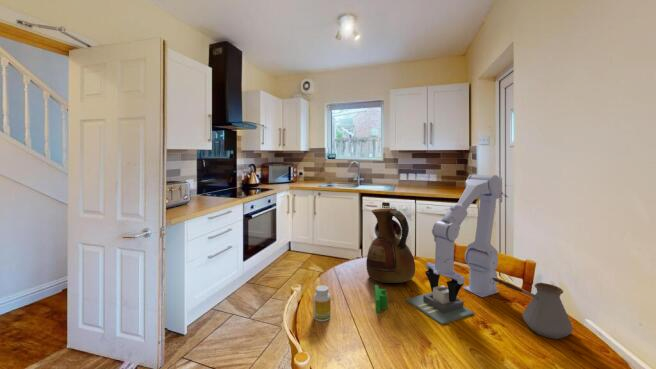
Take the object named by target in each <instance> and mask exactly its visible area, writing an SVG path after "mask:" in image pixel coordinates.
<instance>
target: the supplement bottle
mask: <svg viewBox="0 0 656 369" xmlns="http://www.w3.org/2000/svg"><path fill="white" fill-rule="evenodd" d="M331 303H332V302H331V294H330V293H329V286H327V285H322V284H321V285H318V286H316V287H315V293H314V294H313V318H314V320H315V321H317V322H326V321H328V320H330V318H331V313H332V312H331V308H332V307H331Z"/></svg>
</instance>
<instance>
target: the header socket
mask: <svg viewBox="0 0 656 369" xmlns="http://www.w3.org/2000/svg"><path fill="white" fill-rule="evenodd" d="M405 301H406V302H407V303H409V304H410V305H412V306H413V307H414V308H416V309H417V310H420V312H422V313H424V314H425V315H427V316H428V317H430V318H431V319H432V320H434V321H435V322H437V323H438V324H439V325H441V326H443V325H445V324H449V323H452V322H454V321H457V320H460V319H464V318H467V317H470V316H473V315H475V311H472V310H470V309H469V308H467V307H465V306H464V301H463V300H462V299H460V298H459V296H458V295H457V297H456V301H454V302H452V303H449V304H445V305H443V304H441V303H439V302H438V301H436V300H434V299H433V292H432V291H431V292H427V293H424V294H421V295H420V294H419V295H416V296H412V297H410V298H406V299H405Z"/></svg>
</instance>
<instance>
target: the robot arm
mask: <svg viewBox="0 0 656 369" xmlns="http://www.w3.org/2000/svg"><path fill="white" fill-rule="evenodd" d="M501 189H502V181H501V178H500V177H499V176H498V175H497V174H493V175H492V174H474V173H473V174H472V173H471V174H469V175H468V177H467V178H466V180H465V189H464V190H463V192H462V194H461V196H460V197H459V200H458V201H457V203H456V204H451V205H450V206H449V208H448V210H447V212H446V213H445V214H444V215H443V216H442V218H441V219H440V220H438V221H436V222H435V223H434V224H433V226H432V228H431V234H432V236H433V240H434V242H435V251H434V254H435V255H434V256H435V257H434V258H435V259H434V263H433V262H426V263H425V269H427V270H426V271H425V273H424V274H425V276H426V277H427V280H428V281H429V285H430V290H431V292H433V288H434V287H437V286H439V280H440V277H441V276H444V277H446V278H448V279H450V280H447V281H446V287H448V290H449V302H454V301H456V297H457V296H458V295H459V294H458V293H459V292H460V290H461V289H462V288H463V290H466V291H468V292H470V293H472V294H474V295H476V296H478V297H480V298H485V297H488V296H491V295H494V294H497V293H499V290H498V289H497V288H498V282H496V281H495V282H494V280H493V279H491V278H496V279H498V274H497V271H496V269H497V267H498V265H499V258H498V250H497V249H496V247H494V245H492V244H491V243H492V234H493V226H494V218H495V212H496V204H497V200H498V199H500V196H501V191H502V190H501ZM477 198H478V199H479V208H478V214H477V222H476V229H475V237H474V241H473V242H470V243H469V244H467V248H466V251H465V253H464V260H465V262H466V263H467V266H468V267H469V272H468V274H469V276H468V277H469V279H468V285H467V286H466V285H465V286H464V284H465V277H464V276H462V275H461V274H459V273H458V272H457V271H455V270H454V263H455V261H454V260H455V258H454V257H455V240H456V239H457V238H458V237H459V236H460V235H459V234H460V229H461V225H462V223H463V222H464V221H465V218H466V217H467V216H468V211H467V210H468V208H469V207H470V206H471V205H472V204H473V202H474V201H475V200H476V199H477ZM490 279H491V281H490ZM490 282H491V284H490ZM493 283H494V284H493Z"/></svg>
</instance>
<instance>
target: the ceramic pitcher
mask: <svg viewBox="0 0 656 369" xmlns="http://www.w3.org/2000/svg"><path fill="white" fill-rule="evenodd" d="M371 212H372V214H373V215H374V217H375V219H376V222H377V227H378V233H377V236H376V237H375V238H374V240H372V242H371V243H370V246H369V248H368V252H367V256H366V262H365V263H366V265H365V266H366V271H367V274H368V276H369V278H370V279H373V280H375V281H378V282H381V283H389V284H390V283H391V284H396V283H404V282H409V281H411V280H412V279H413V278H414V277H415V273H416V263H415V258H414V256H413V253H412V251H411V248H409V246H408V245H407V240H408V236H409V233H410V232H409V230H410V228H409V222H408V220H407V218H406V216H405V215H404V214H403V213H402V212H401V211H399V210H398V209H397V208H395V207H394V208H393V207H392V208H391V207H390V208H388V207H387V208H376V209H372V210H371ZM393 217H394V218H395V219H396V220H397V221H398V223H399V224H400V228H401V236H400V237H399V236H397V235H396V233H395V231H394V227H393Z"/></svg>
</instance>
